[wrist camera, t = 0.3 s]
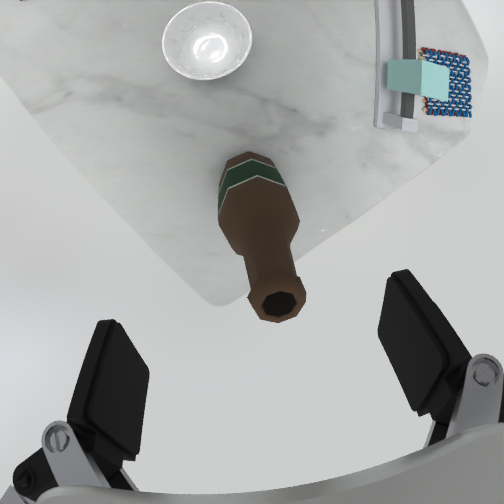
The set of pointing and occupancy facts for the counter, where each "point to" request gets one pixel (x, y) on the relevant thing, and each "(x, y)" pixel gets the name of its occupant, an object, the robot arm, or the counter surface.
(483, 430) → the robot arm
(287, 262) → the beer bottle
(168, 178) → the counter surface
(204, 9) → the white cup
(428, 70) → the teal sliding block
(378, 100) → the teal block rod stand
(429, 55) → the woven mat
